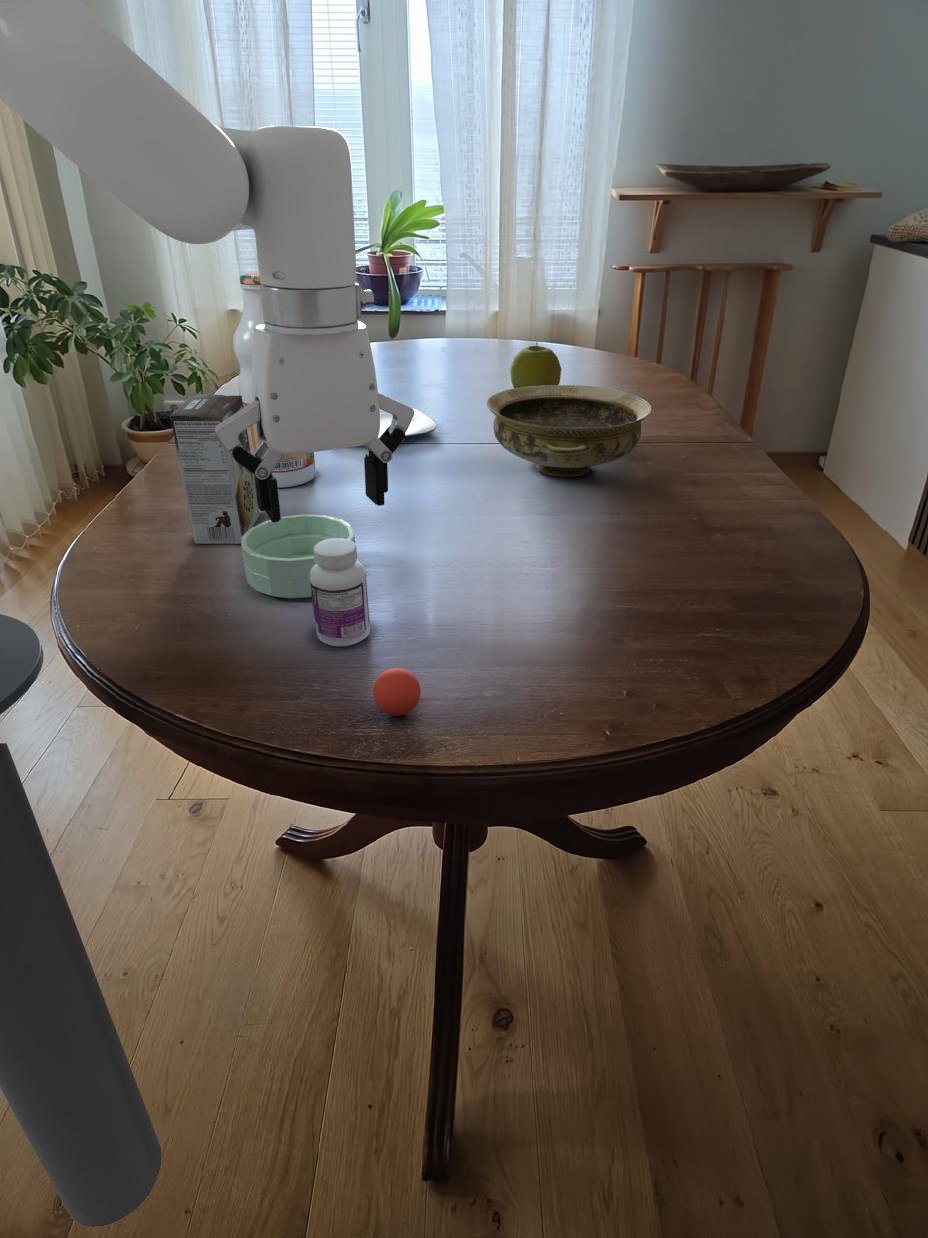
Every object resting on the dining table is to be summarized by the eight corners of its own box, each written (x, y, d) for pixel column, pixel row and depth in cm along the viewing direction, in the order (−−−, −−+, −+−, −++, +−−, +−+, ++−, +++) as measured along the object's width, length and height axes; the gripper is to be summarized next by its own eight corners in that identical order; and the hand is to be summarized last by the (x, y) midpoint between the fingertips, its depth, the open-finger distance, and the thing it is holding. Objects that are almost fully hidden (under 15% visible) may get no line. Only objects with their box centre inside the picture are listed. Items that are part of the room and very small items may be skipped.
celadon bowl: (308, 613, 82) (302, 570, 79) (224, 585, 88) (217, 544, 85) (378, 568, 91) (375, 528, 88) (298, 545, 96) (294, 507, 94)
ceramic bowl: (649, 509, 106) (658, 436, 101) (473, 500, 109) (473, 429, 104) (639, 441, 131) (646, 380, 126) (497, 435, 134) (498, 375, 129)
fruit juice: (239, 478, 117) (206, 274, 103) (290, 462, 123) (266, 267, 109) (277, 494, 111) (249, 280, 97) (329, 476, 117) (309, 273, 103)
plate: (315, 423, 141) (314, 413, 140) (410, 411, 147) (409, 402, 146) (342, 452, 127) (341, 442, 126) (446, 438, 133) (446, 428, 132)
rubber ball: (403, 731, 65) (401, 691, 63) (365, 715, 67) (361, 677, 65) (430, 706, 68) (429, 667, 66) (392, 692, 70) (390, 654, 68)
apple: (501, 396, 157) (502, 338, 151) (544, 391, 160) (546, 334, 154) (523, 408, 149) (525, 348, 143) (568, 403, 152) (572, 344, 146)
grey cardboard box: (213, 515, 105) (191, 393, 96) (261, 515, 105) (243, 393, 96) (192, 544, 97) (166, 414, 89) (244, 544, 97) (223, 414, 89)
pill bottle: (324, 619, 81) (315, 533, 76) (375, 621, 80) (369, 535, 75) (309, 647, 76) (298, 557, 71) (363, 650, 76) (356, 559, 71)
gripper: (393, 296, 69) (397, 482, 78) (190, 306, 62) (219, 508, 71) (428, 309, 63) (429, 508, 72) (209, 322, 57) (238, 540, 65)
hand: (325, 508), depth 71 cm, fingers open, 9 cm apart
